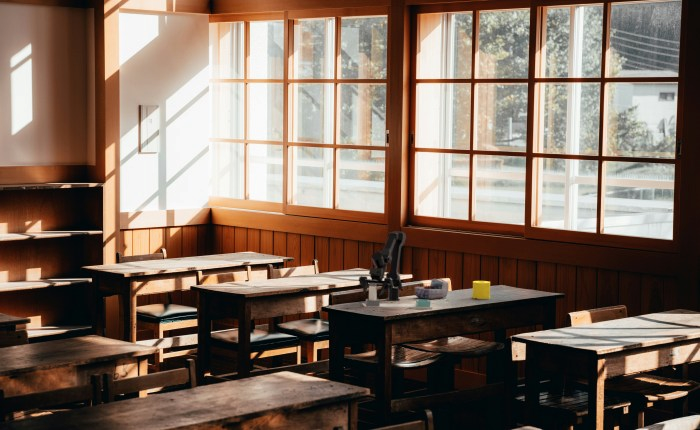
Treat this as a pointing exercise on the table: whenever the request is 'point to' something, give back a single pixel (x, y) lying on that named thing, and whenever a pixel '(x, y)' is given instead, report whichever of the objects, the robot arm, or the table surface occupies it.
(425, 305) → the panel
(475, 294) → the yellow cube
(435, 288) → the grey armchair
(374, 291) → the plug
